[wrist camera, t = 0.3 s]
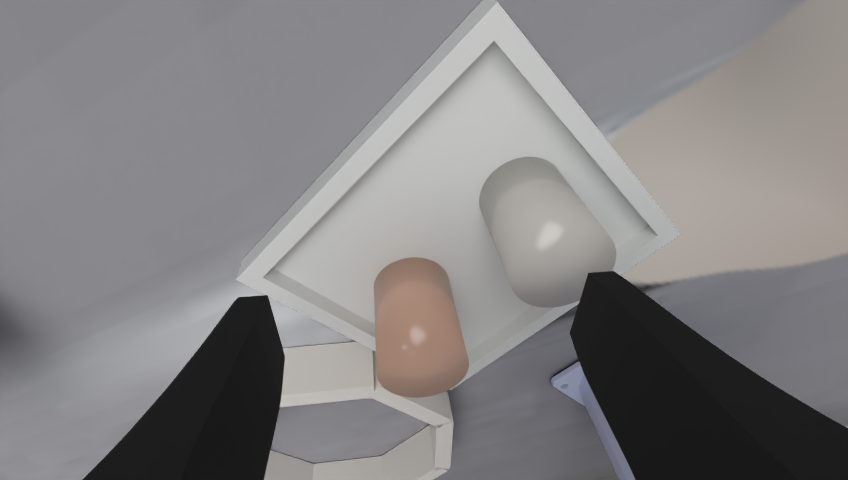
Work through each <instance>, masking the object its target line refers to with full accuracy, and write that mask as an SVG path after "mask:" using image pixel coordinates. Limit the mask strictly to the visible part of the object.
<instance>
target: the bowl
mask: <svg viewBox="0 0 848 480" xmlns="http://www.w3.org/2000/svg"><path fill="white" fill-rule="evenodd" d="M283 352H284V355H285V363H284V374H283V385H282V394H281V403H280V407H288V406H297V405H307V404H317V403H327V402H336V401H346V400H356V399H365V398H372V399H375V400H377V401H379V402H381V403H384V404H386V405H388V406H390V407H393V408H395V409H397V410H399V411H402V412H404V413H406V414H408V415H411V416H413V417H415V418H417V419H420V420H422V421H424V422H426V423H429V426H427V427H425V428H424V429H422V430H421V431H419V432H418V433H416V434H415V435H413V436H412V437H410V438H409V439H407V440H406V441H404V442H403V443H401V444H399V445H398V446H396V447H395V448H393V449H392V450H390V451H389V452H387V453H386V454H384V455H383V456H377V457H369V458H360V459H352V460H343V461H334V462H326V463H317V464H313V463H309V462H306V461H303V460H300V459H297V458H294V457H291V456H287V455H284V454H281V453H278V452H275V451H272V450H270V454H269V459H268V463H267V468H266V472H265V477H264V480H433V479H435V478H437V477H438V476H440V475H442V474H443V473H445V472H447V471H448V469H447V468H450V463H451V450H452V437H453V424H454V423H453V417H452V412H451V406H450V401H449V395H448V390H447V391H445V392H443V393H440V394H437V395H433V396H429V397H419V398H412V397H404V396H399V395H396V394H393V393H391V392H389V391H388V390H386V389H385V388H384V387H383V386H382V385H381V384H380V383H379V381H378V378H377V368H376V351H374V350H372V349H370V348H368V347H366V346H364V345H362V344H360V343H358V342H347V343H336V344H325V345H314V346H303V347H292V348H283Z"/></svg>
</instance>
